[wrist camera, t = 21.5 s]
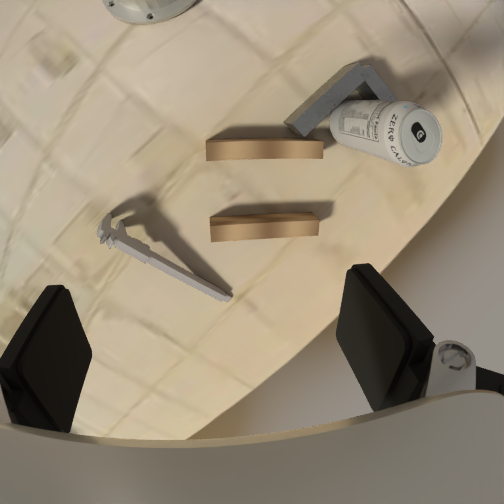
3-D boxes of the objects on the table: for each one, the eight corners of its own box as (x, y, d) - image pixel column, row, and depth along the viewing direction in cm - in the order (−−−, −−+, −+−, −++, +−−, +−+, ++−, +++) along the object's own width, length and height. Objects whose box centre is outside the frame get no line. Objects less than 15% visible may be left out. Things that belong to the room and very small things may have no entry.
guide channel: (210, 232, 39) (211, 242, 36) (205, 140, 34) (205, 142, 31) (310, 226, 40) (318, 235, 38) (315, 138, 35) (323, 141, 33)
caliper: (105, 217, 36) (89, 237, 31) (109, 211, 36) (93, 229, 30) (227, 300, 44) (231, 328, 38) (232, 295, 44) (236, 323, 38)
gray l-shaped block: (402, 141, 37) (419, 145, 33) (283, 133, 35) (291, 136, 31) (404, 77, 32) (422, 76, 29) (283, 59, 30) (291, 54, 27)
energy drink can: (347, 155, 37) (417, 185, 23) (316, 121, 34) (380, 131, 21) (377, 126, 35) (455, 142, 22) (348, 90, 33) (424, 88, 20)
